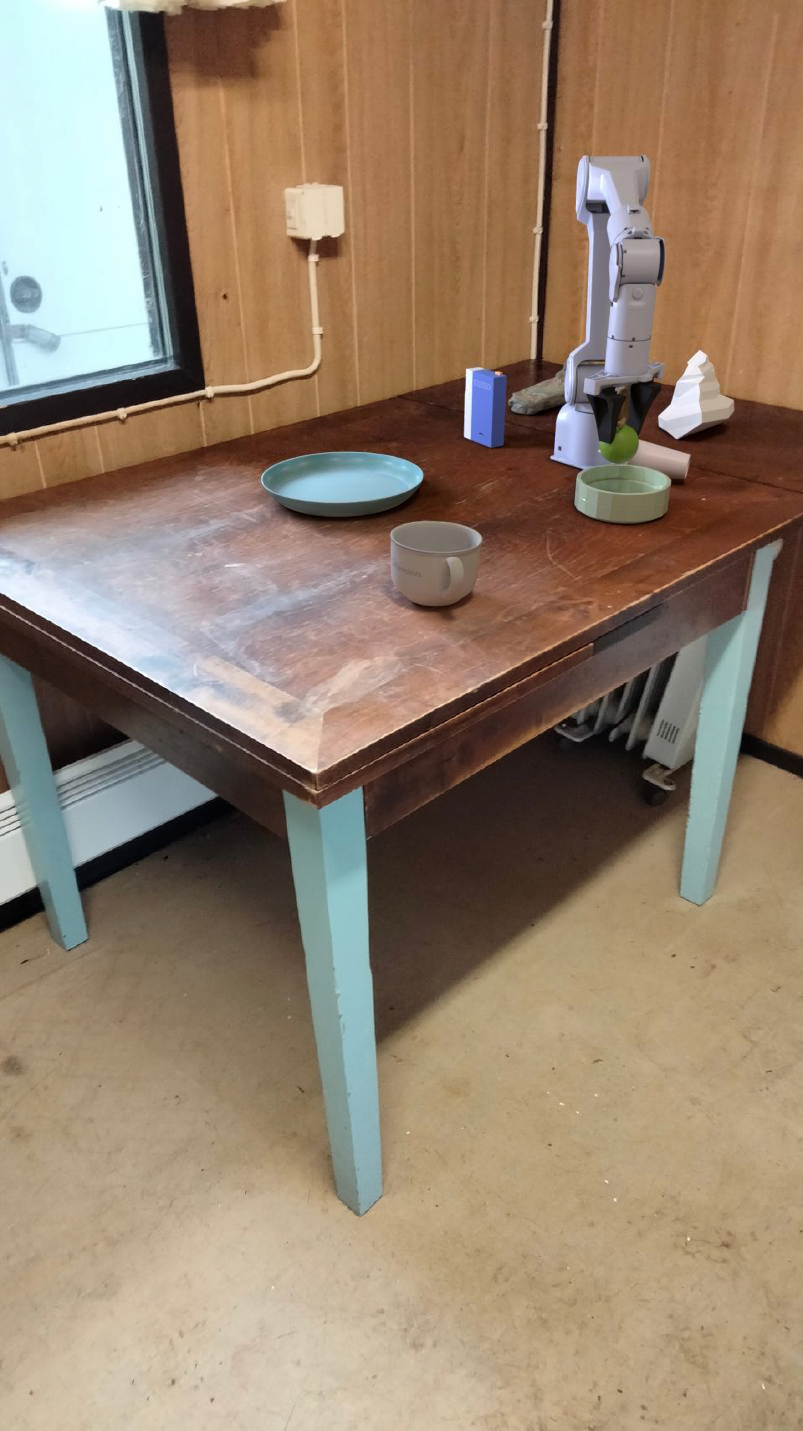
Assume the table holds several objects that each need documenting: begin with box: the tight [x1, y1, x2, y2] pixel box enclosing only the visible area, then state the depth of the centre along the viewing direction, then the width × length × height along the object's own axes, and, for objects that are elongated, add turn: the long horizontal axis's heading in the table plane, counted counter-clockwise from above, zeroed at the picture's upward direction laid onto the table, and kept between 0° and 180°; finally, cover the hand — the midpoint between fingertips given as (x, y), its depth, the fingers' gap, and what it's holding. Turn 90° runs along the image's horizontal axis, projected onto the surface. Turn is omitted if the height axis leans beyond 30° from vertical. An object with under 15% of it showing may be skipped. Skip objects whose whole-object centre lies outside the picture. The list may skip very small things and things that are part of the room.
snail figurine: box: [599, 384, 640, 464], centre depth 144 cm, size 5×6×12 cm
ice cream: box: [657, 349, 735, 440], centre depth 180 cm, size 12×15×14 cm
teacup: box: [389, 520, 483, 607], centre depth 122 cm, size 14×11×8 cm
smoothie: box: [598, 439, 692, 480], centre depth 160 cm, size 6×6×14 cm
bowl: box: [573, 464, 672, 524], centre depth 149 cm, size 13×13×4 cm
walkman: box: [463, 366, 508, 449], centre depth 175 cm, size 8×3×12 cm, turn 33°
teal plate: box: [260, 451, 424, 518], centre depth 155 cm, size 24×24×3 cm
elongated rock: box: [507, 359, 603, 416], centre depth 203 cm, size 35×5×10 cm
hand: (618, 437), depth 145 cm, fingers closed on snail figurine, 5 cm apart
